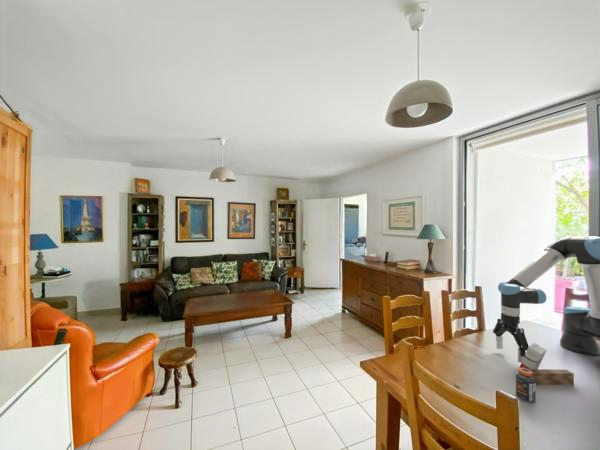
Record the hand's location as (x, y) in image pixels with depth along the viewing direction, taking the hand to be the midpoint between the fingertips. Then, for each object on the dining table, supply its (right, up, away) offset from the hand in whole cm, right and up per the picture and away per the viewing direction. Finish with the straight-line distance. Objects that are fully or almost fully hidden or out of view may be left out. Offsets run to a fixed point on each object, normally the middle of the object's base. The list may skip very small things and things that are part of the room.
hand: (509, 354), depth 129 cm
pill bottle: (-19, -2, -30) cm, 35 cm away
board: (0, -2, -20) cm, 20 cm away
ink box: (0, -1, -10) cm, 10 cm away
